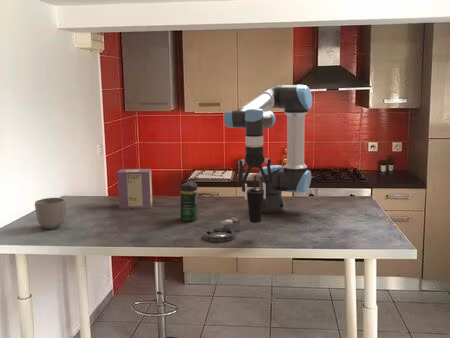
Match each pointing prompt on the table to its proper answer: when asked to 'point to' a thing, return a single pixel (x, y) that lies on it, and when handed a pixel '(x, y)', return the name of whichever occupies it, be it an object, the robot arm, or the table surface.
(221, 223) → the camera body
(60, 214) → the planter
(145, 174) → the box
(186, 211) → the coffee jar
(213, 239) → the plate
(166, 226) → the table surface
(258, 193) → the drinking cup
